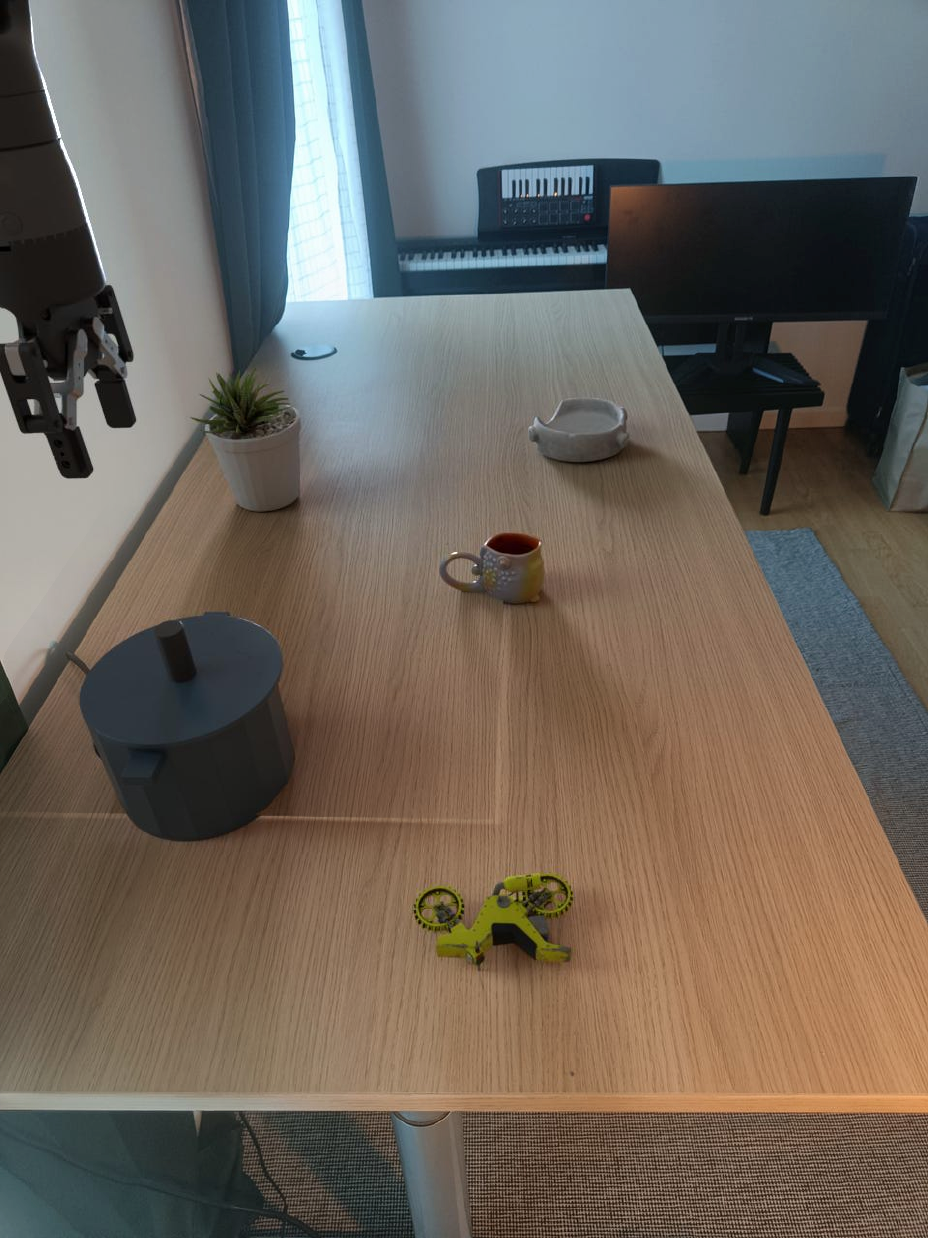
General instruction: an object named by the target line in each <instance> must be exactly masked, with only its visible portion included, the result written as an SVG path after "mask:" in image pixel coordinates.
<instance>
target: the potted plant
mask: <svg viewBox="0 0 928 1238" xmlns="http://www.w3.org/2000/svg"><path fill="white" fill-rule="evenodd" d="M256 367H257V366H254V367H253V368H252V370H251V372H249V373H248V374H247V375H246V376H245V377H244V379H243V381H242V384H241V385H240V381H241V380H240V378H241V370H239V371H238V372H237V375H236V378H235V381H233V377H232V374H231V371H228V376H229V381H230V385H229V384H228V383H227V382H226V380H225V379H224V378H223V376H222V375H221V374H220V373H217V372H215V375H216V380H217V382H218V384H219V387H220V388H221V390H222V391H219V390H218V388H217V387H216V386H215V385H214V383H213V381H212V380H211V378H210V377H208V378H207V379H208V381H209V383H210V386H211V388H212V389H213V390H212V394H213V395H214V396H215V397H216V399H218V401H216V400H215V399H212V398H210V397H208V396H206V395H203V394H202V393H200V394H198V395H199V396H201V397H202V398H204V399H206V400H208V401H210V402H211V403H212V404H214V405H215V406H216V407H215V406H212V405H210V406H209V407H208V409H209V410H210V411H211V412H213V413H214V415H213V416H212V417H210V418H209V419H200V418H196V417H192V416H190V417H189V418H190V419H191V420H193V421H195V422H198V423H200V424H201V423H202V424H205V425H204V430H202V429H199V431H200V432H202V433H203V434H205V435H206V437H207V439H208V442H209V444H210V445H211V446H212V448H213V450H214V452H215V455H216V458H217V460H218V463H219V465H220V467H221V469H222V471H223V474H224V477H225V479H226V482H227V484H228V486H229V489H230V491H231V493H232V495H233V497H234V499H235V502H236V503H237V504H238V506H239V507H241V509H242V508H243V509H244V510H247V511H251V512H258V513H259V512H260V513H261V512H270V511H271V512H272V511H275V510H280V509H283V508H285V507H287V506H289V505H291V504H292V503H293V502H295V501H296V500H297V498H298V497H299V495H300V490H301V489H300V488H301V449H300V447H301V443H300V431H301V425H302V424H301V423H302V422H301V413H300V411H298V410H297V408H295V407H293V406H291V403H289V402H281V401H289V398H288V397H276V398H272V397H274V396H276V395H279V394H282V393H285V392H286V391H285V390H279V391H274V392H270V393H268V394H266V395H263V396H260V397H259V398H258V395H259V392H260V390H262V389H263V388H265V387H267V386H269V385H271V384H272V383H271V382H268V383H265V384H261V385H260V383H258V384H257V387H256V388H255V389H254V390H253V388H254V385H255V382H256V381H257V377H258V375H259V371H257V372H256V374H254V373H255V371H256V370H257V368H256ZM271 398H272V399H271Z"/></svg>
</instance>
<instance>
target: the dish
mask: <svg viewBox="0 0 928 1238" xmlns="http://www.w3.org/2000/svg"><path fill="white" fill-rule="evenodd" d="M627 421H628V412H627V410H626V407H624V406H619V405H618V404H617V403H615V402H613V401H611V400H608V399H604V398H598V397H597V398H595V397H574V398H567V399H566V398H565V399H563V400H561V401H560V403H559V404H558V406H557V408H556V410H555V412H554V414H553V415H552V417H551V418H550V420H549V421H548V422H543V421H542V419H541V417H540V416H536V417H535V418H534V422H533V425H530V426H529V427H528V430H527V431H528V439H529V441H530V442H532V443H535V445H536V448H537V450H538V452H539V453H540V454H542V455H544V456H545V457H548V458H550V459H553V460H557V461H562V462H568V463H569V462H570V463H587V462H594V461H599V460H604V459H607V458H610V457H613V456H615V455H617V454H618V453H619V452H621V450H622V449H624V448H625V447H626V446H627V445H628V444H629V439H630V433H629V432H627Z"/></svg>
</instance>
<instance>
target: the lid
mask: <svg viewBox="0 0 928 1238" xmlns="http://www.w3.org/2000/svg"><path fill="white" fill-rule="evenodd" d="M203 615H204V614H203ZM203 615H192V616H188V617H182V618H177V619H167V620H165V621H162V622H160V623H159V624H156V625H153V626H150V627H148V628H145V629H143V630H141V631H139V632H137V633H134V634H132V635H130V636H128V637H127V638H126V639H124V640H122V641H120V642H119V643H117V644H116V645H114V646H113V647H112V648H110V650H108V651H107V652H105V653H104V654H103V655H102V656H101V657H100V658H99V659H98V661H96V662H95V664H94V665H93V666H92V667H91V669H90V670H89V671H88V672H87V675H86V676H85V678H84V680H83V682H82V685H81V687H80V692H79V702H78V703H79V709H80V713H81V715H82V717H84V718H83V720H84V719H85V720H84V722H85V721H86V722H85V724H86V723H87V724H88V726H89V727H90V728H91V729H92V730H93V731H94V732H95V733H97V734H98V735H99V736H101V737H102V738H104V739H106V740H108V741H110V742H113V743H116V744H119V745H123V746H127V747H133V748H143V749H159V748H169V747H176V746H182V745H187V744H191V743H194V742H198V741H202V740H204V739H207V738H210V737H213V736H215V735H217V734H220V733H222V732H224V731H226V730H228V729H230V728H232V727H234V726H235V725H237V724H239V723H241V722H242V721H244V720H245V719H246V718H248V717H249V716H251V715H252V714H253V713H254V712H255V711H257V710H258V709H259V708H260V707H261V706H262V705H263V704H264V703H265V702H266V701H267V700H268V699H269V697H270V696H271V695H272V693H273V692H274V691H275V689H276V687H277V685H278V686H279V683H280V681H281V677H282V675H283V670H284V656H283V652H282V649H281V646H280V644H279V643H278V640H277V639H276V637H274V635H273V634H272V633H271V632H270V631H268V630H267V629H266V628H265V627H263V626H261V625H259V624H257V623H255V622H254V621H250V620H249V619H244V618H241V617H236V616H231V615H230V616H220V615H204V616H203Z"/></svg>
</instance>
